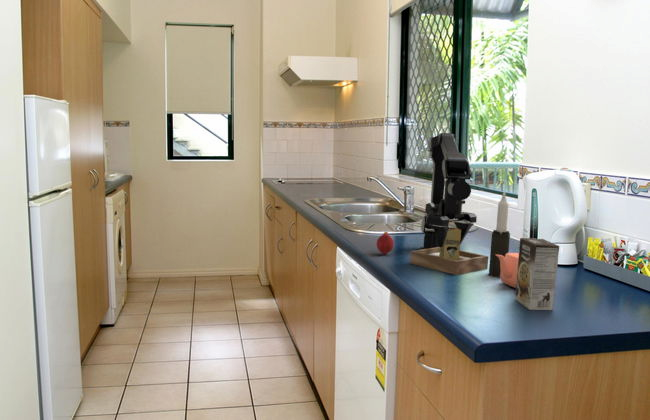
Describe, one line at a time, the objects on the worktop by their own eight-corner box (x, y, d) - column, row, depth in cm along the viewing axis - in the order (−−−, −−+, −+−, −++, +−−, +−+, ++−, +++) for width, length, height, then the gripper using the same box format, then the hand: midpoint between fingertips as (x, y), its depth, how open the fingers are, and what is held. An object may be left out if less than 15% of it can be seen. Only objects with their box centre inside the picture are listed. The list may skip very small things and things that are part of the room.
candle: (507, 274, 186) (513, 192, 183) (506, 277, 181) (513, 193, 178) (489, 272, 188) (496, 191, 185) (488, 275, 183) (494, 192, 180)
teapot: (561, 291, 168) (565, 254, 167) (504, 293, 163) (507, 255, 162) (536, 281, 179) (539, 246, 178) (481, 283, 174) (484, 246, 173)
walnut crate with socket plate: (441, 258, 206) (442, 246, 206) (487, 268, 193) (488, 256, 193) (410, 263, 196) (410, 251, 195) (456, 274, 182) (457, 261, 182)
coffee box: (513, 299, 157) (519, 237, 155) (538, 300, 158) (543, 238, 156) (528, 310, 148) (534, 244, 146) (554, 310, 149) (560, 244, 147)
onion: (392, 257, 205) (393, 233, 204) (375, 255, 206) (376, 232, 205) (393, 253, 211) (395, 230, 210) (377, 252, 212) (378, 229, 211)
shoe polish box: (438, 264, 197) (441, 227, 195) (453, 264, 197) (456, 227, 196) (442, 267, 192) (445, 229, 190) (458, 268, 192) (461, 230, 191)
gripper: (450, 192, 204) (447, 239, 206) (413, 195, 191) (410, 244, 193) (479, 196, 196) (475, 244, 197) (442, 199, 183) (439, 250, 185)
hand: (449, 245), depth 194 cm, fingers open, 9 cm apart
